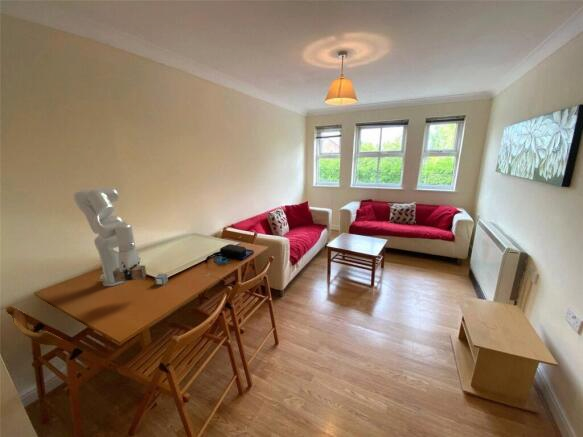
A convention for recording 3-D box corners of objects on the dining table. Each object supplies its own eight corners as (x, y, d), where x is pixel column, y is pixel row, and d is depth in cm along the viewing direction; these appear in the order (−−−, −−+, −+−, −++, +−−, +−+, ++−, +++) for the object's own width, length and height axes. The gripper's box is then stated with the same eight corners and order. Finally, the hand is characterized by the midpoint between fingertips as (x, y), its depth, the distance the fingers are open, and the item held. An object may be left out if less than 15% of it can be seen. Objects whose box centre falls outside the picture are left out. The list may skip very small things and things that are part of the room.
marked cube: (155, 285, 147) (154, 277, 146) (160, 280, 152) (159, 273, 151) (163, 285, 147) (162, 277, 146) (168, 280, 152) (167, 273, 151)
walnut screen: (114, 282, 129) (112, 272, 128) (119, 277, 134) (117, 267, 133) (143, 279, 132) (141, 269, 131) (146, 274, 137) (144, 265, 135)
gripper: (131, 241, 137) (136, 269, 142) (107, 253, 120) (114, 285, 125) (143, 241, 137) (149, 269, 141) (122, 253, 120) (128, 285, 125)
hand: (133, 276), depth 133 cm, fingers closed on walnut screen, 5 cm apart
